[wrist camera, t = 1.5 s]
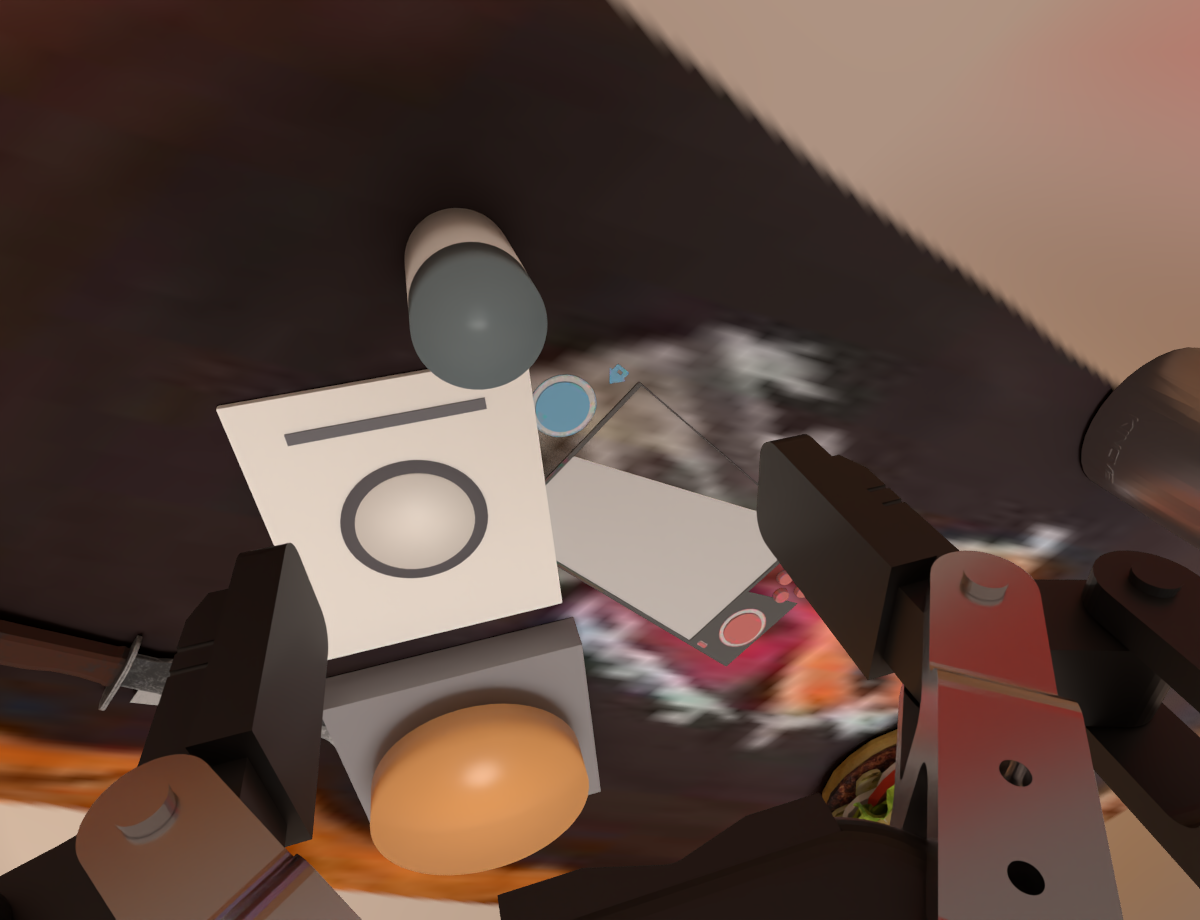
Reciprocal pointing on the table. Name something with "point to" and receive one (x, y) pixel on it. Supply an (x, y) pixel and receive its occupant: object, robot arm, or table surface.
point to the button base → (458, 694)
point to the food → (865, 782)
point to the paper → (403, 502)
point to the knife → (89, 662)
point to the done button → (477, 789)
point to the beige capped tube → (471, 301)
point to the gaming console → (656, 538)
